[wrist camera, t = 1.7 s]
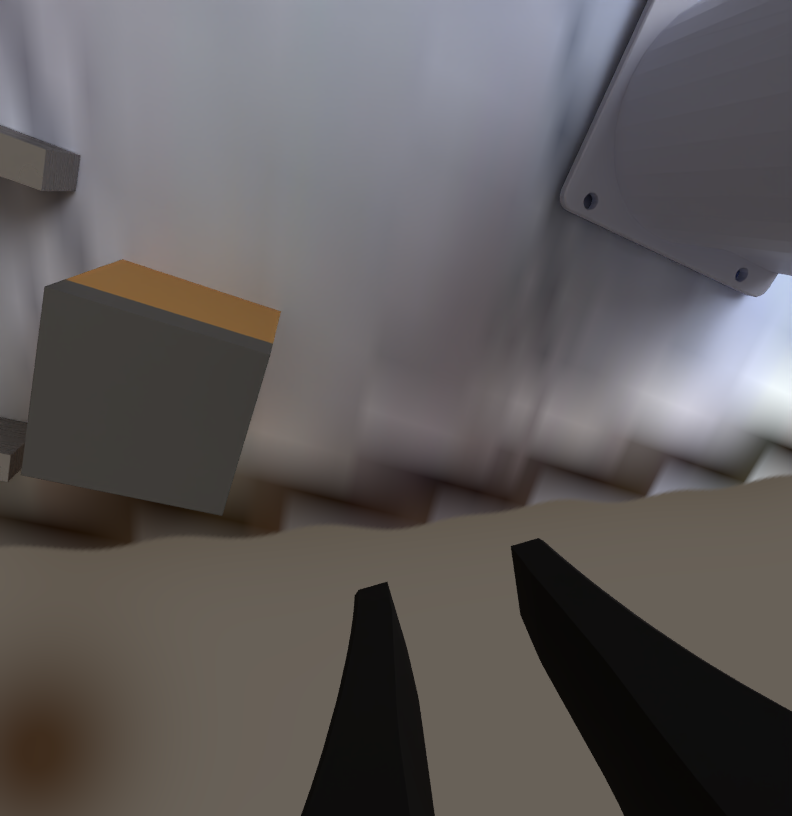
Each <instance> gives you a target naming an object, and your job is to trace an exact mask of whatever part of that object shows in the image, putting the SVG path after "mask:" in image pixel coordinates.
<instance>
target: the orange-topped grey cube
mask: <svg viewBox="0 0 792 816" xmlns="http://www.w3.org/2000/svg"><path fill="white" fill-rule="evenodd" d="M280 313H281V311H277V310H274V309H271V308H268V307H265V306H262V305H259V304H256V303H253V302H250V301H247V300H244V299H241V298H238V297H235V296H232V295H229V294H226V293H223V292H220V291H217V290H214V289H211V288H208V287H205V286H202V285H199V284H196V283H193V282H190V281H187V280H184V279H181V278H178V277H175V276H172V275H168V274H165V273H162V272H159V271H156V270H153V269H150V268H147V267H144V266H141V265H138V264H135V263H132V262H129V261H126V260H123V259H122V260H119V261H117V262H114V263H111V264H108V265H105V266H102V267H99V268H97V269H94V270H91V271H88V272H85V273H82V274H79V275H77V276H74V277H71V278H68V279H65V280H62V281H59V282H57V283H54V284H51V285H48V286H45V288H44V296H43V304H42V312H41V320H40V328H39V336H38V344H37V352H36V360H35V368H34V376H33V383H32V391H31V399H30V407H29V415H28V423H27V431H26V439H25V447H24V455H23V463H22V471H21V475H23V476H28V477H33V478H38V479H43V480H48V481H53V482H58V483H63V484H68V485H73V486H78V487H83V488H88V489H93V490H98V491H102V492H107V493H112V494H117V495H122V496H127V497H132V498H137V499H142V500H147V501H152V502H157V503H162V504H167V505H172V506H177V507H182V508H187V509H192V510H197V511H202V512H207V513H212V514H217V515H222V514H223V511H224V508H225V504H226V501H227V498H228V494H229V491H230V488H231V484H232V481H233V478H234V474H235V471H236V468H237V464H238V461H239V458H240V454H241V451H242V447H243V444H244V441H245V437H246V434H247V431H248V427H249V424H250V421H251V417H252V414H253V411H254V407H255V404H256V401H257V397H258V394H259V391H260V387H261V384H262V380H263V377H264V374H265V370H266V367H267V364H268V360H269V357H270V353H271V349H272V345H273V341H274V337H275V333H276V329H277V325H278V321H279V317H280Z"/></svg>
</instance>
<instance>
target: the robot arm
mask: <svg viewBox="0 0 792 816" xmlns="http://www.w3.org/2000/svg"><path fill="white" fill-rule="evenodd" d="M587 194H590V195H591V196H592V203H591V205H590V206H589V208H587V209H586V208H585V207H584V203H583V202H584V198H585V197H586V195H587ZM560 203H561V205H562V207H563V208H564V209H565V210H567V211H569V212H571V213H573V214H575V215H577V216H579V217H582V218H584V219H586V220H588V221H590V222H592V223H594V224H596V225H599V226H601V227H603V228H605V229H607V230H609V231H611V232H613V233H616V234H618V235H620V236H622V237H624V238H626V239H628V240H630V241H633V242H635V243H637V244H639V245H641V246H643V247H645V248H647V249H650V250H652V251H654V252H656V253H658V254H660V255H662V256H664V257H667V258H669V259H671V260H673V261H675V262H677V263H679V264H681V265H684V266H686V267H688V268H690V269H692V270H694V271H696V272H698V273H701V274H703V275H705V276H707V277H709V278H711V279H713V280H715V281H718V282H720V283H722V284H724V285H726V286H728V287H730V288H732V289H735V290H737V291H739V292H741V293H743V294H745V295H749V296H754V297H757V296H761V295H762V294H764V293H765V292H766V291H767V290H768V288H769V287H770V286H771V284H772V282H773V281H774V279H775V278H776V276H777V275H778V273H779V274H785V275H790V276H792V0H648V1H647V3H646V6H645V8H644V10H643V12H642V14H641V17H640V19H639V21H638V23H637V25H636V27H635V30H634V32H633V34H632V36H631V38H630V41H629V43H628V45H627V47H626V49H625V51H624V54H623V56H622V58H621V60H620V62H619V65H618V67H617V69H616V71H615V73H614V75H613V78H612V80H611V82H610V84H609V86H608V89H607V91H606V93H605V95H604V97H603V99H602V102H601V104H600V106H599V108H598V110H597V113H596V115H595V117H594V119H593V121H592V124H591V126H590V128H589V130H588V132H587V134H586V137H585V139H584V141H583V143H582V145H581V148H580V150H579V152H578V154H577V156H576V158H575V161H574V163H573V165H572V167H571V169H570V172H569V174H568V176H567V178H566V180H565V182H564V185H563V187H562V189H561V192H560ZM739 269H740V273H739V275H738V277H737V278H736V279H735V275H736V272H737V271H738V270H739ZM511 550H512V558H513V565H514V572H515V579H516V586H517V593H518V600H519V608H520V615H521V617H522V619H523V622H524V624H525V626H526V629H527V631H528V633H529V636H530V638H531V640H532V643H533V645H534V647H535V650H536V652H537V654H538V656H539V659H540V661H541V663H542V665H543V667H544V668H545V670H546V672H547V674H548V676H549V678H550V679H551V681H552V683H553V685H554V687H555V688H556V690H557V692H558V694H559V696H560V698H561V699H562V701H563V703H564V705H565V707H566V708H567V710H568V712H569V714H570V715H571V717H572V719H573V721H574V723H575V724H576V726H577V728H578V730H579V731H580V733H581V735H582V737H583V739H584V741H585V742H586V744H587V746H588V748H589V749H590V751H591V753H592V755H593V756H594V758H595V760H596V762H597V764H598V766H599V767H600V769H601V771H602V773H603V775H604V776H605V778H606V780H607V782H608V784H609V786H610V788H611V790H612V792H613V794H614V795H615V798H616V800H617V802H618V803H619V806H620V808H621V810H622V812H623V814H624V816H792V711H790V710H788V709H787V708H785V707H783V706H781V705H779V704H777V703H776V702H774V701H772V700H770V699H769V698H767V697H765V696H763V695H761V694H760V693H758V692H756V691H754V690H753V689H751V688H749V687H747V686H746V685H744V684H742V683H740V682H739V681H737V680H735V679H734V678H732V677H730V676H729V675H727V674H725V673H723V672H722V671H720V670H719V669H717V668H715V667H714V666H712V665H710V664H709V663H707V662H706V661H704V660H702V659H701V658H699V657H698V656H696V655H694V654H693V653H691V652H690V651H688V650H687V649H685V648H684V647H682V646H681V645H679V644H677V643H676V642H675V641H673V640H672V639H670V638H669V637H667V636H666V635H664V634H663V633H661V632H660V631H658V630H657V629H655V628H654V627H652V626H651V625H650V624H648V623H647V622H645V621H644V620H642V619H641V618H640V617H638V616H637V615H635V614H634V613H633V612H631V611H630V610H629V609H627V608H626V607H625V606H623V605H622V604H621V603H619V602H618V601H617V600H615V599H614V598H613V597H611V596H610V595H609V594H607V593H606V592H605V591H603V590H602V589H601V588H600V587H598V586H597V585H596V584H594V583H593V582H592V581H591V580H589V579H588V578H587V577H585V576H584V575H583V574H582V573H581V572H579V571H578V570H577V569H576V568H575V567H573V566H572V565H571V564H570V563H569V562H567V561H566V560H565V559H564V558H563V557H561V556H560V555H559V554H558V553H557V552H555V551H554V550H553V549H552V548H551V547H550V546H549V545H548V544H546V543H545V542H544V541H543V540H541V539H539V538H537V539H534V540H531V541H527V542H524V543H520V544H517V545H513V546H511ZM301 816H435V814H434V808H433V800H432V792H431V785H430V778H429V771H428V763H427V756H426V748H425V742H424V734H423V727H422V720H421V712H420V706H419V699H418V694H417V690H416V685H415V681H414V676H413V672H412V668H411V663H410V659H409V655H408V650H407V647H406V643H405V640H404V636H403V633H402V630H401V627H400V623H399V620H398V617H397V613H396V610H395V606H394V603H393V600H392V597H391V593H390V590H389V586H388V583H387V582H385V583H381V584H378V585H374V586H371V587H367V588H364V589H360V590H358V592H357V593H356V595H355V601H354V612H353V621H352V628H351V635H350V640H349V646H348V652H347V657H346V661H345V666H344V670H343V675H342V679H341V684H340V688H339V693H338V697H337V701H336V705H335V708H334V712H333V716H332V719H331V723H330V726H329V730H328V734H327V737H326V741H325V745H324V748H323V751H322V754H321V758H320V761H319V764H318V767H317V770H316V773H315V777H314V780H313V783H312V786H311V789H310V792H309V794H308V797H307V800H306V803H305V806H304V809H303V811H302V814H301Z"/></svg>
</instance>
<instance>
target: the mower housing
mask: <svg viewBox="0 0 792 816" xmlns="http://www.w3.org/2000/svg"><path fill="white" fill-rule="evenodd" d="M79 162H80V155H78V154H75V153H73V152H70V151H67V150H65V149H62V148H59V147H57V146H54V145H51V144H49V143H46V142H44V141H41V140H38V139H36V138H33V137H30V136H28V135H25V134H22V133H20V132H17V131H14V130H12V129H9V128H7V127H4V126H1V125H0V177H3V178H6V179H9V180H12V181H15V182H18V183H20V184H23V185H26V186H29V187H32V188H35V189H37V190H40V191H76V184H77V177H78V170H79ZM26 431H27V423H23V422H18V421H14V420H10V419H5V418H1V417H0V481H5V482H8V481H9V480H10V479H11V478H12V477H13V476H14V475H15V474H17V473H18V472H19V471H20V470H21V469H22V463H23V455H24V447H25V439H26Z"/></svg>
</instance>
